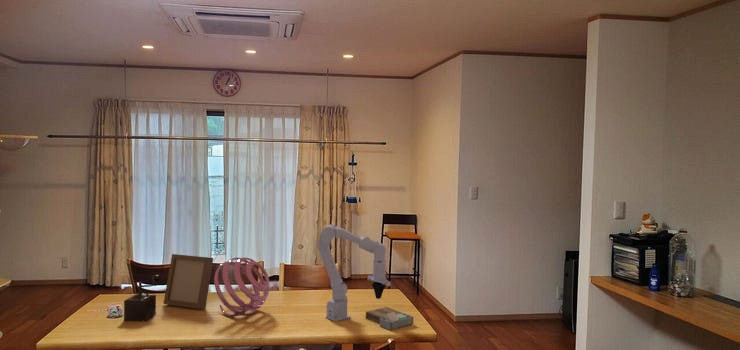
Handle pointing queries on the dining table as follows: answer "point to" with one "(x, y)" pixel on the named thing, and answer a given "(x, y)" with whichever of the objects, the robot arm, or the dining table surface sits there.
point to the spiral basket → (243, 286)
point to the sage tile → (401, 316)
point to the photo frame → (188, 281)
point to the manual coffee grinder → (141, 304)
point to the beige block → (391, 317)
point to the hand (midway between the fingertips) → (378, 298)
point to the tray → (396, 323)
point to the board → (379, 314)
